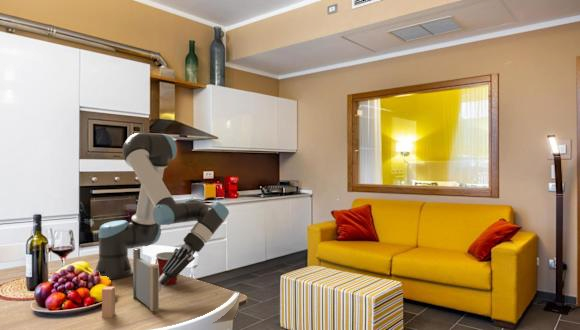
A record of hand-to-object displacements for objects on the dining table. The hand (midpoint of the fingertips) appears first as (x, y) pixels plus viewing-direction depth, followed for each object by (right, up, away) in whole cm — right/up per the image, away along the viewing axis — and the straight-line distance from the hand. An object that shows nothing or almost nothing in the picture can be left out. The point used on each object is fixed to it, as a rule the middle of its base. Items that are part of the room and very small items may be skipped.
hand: (153, 291), depth 139 cm
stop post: (-12, -5, -9) cm, 16 cm away
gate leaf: (-3, -4, 0) cm, 5 cm away
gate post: (-9, -5, +8) cm, 13 cm away
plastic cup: (-2, -5, +26) cm, 27 cm away
